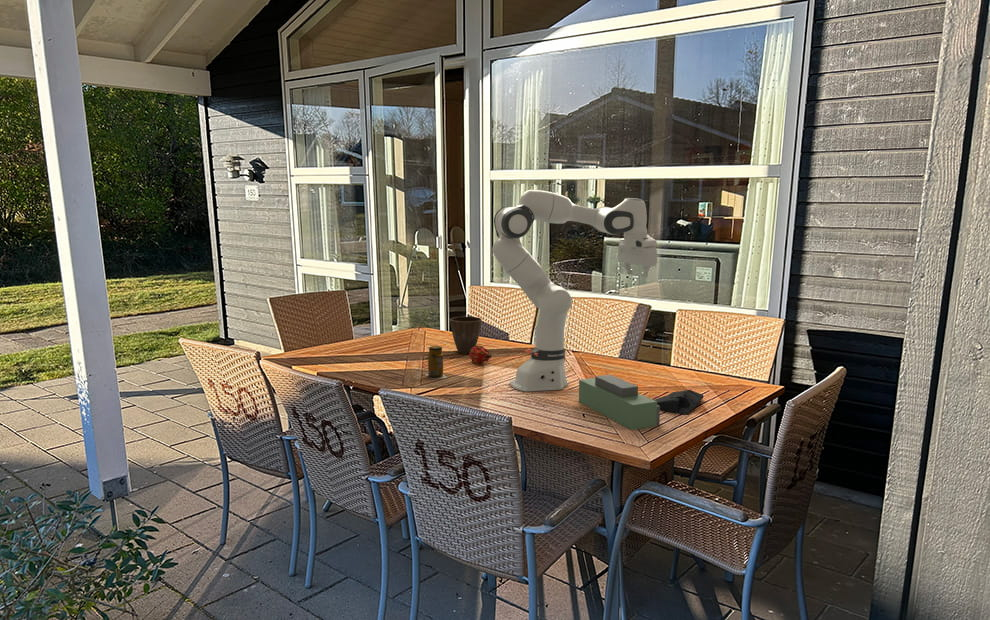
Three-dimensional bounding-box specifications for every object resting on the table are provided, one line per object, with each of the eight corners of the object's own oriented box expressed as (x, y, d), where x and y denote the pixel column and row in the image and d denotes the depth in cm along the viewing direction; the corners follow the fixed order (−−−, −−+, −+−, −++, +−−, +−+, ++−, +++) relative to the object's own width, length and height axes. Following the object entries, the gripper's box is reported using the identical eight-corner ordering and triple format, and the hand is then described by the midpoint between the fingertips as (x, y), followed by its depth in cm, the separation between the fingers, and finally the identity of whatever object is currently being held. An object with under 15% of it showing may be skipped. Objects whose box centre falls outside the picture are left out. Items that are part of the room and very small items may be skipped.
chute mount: (632, 430, 197) (633, 395, 195) (578, 401, 226) (579, 371, 224) (661, 425, 201) (662, 391, 199) (605, 398, 230) (606, 368, 228)
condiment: (441, 373, 265) (441, 344, 263) (447, 378, 257) (447, 349, 255) (424, 374, 263) (424, 346, 261) (429, 379, 255) (429, 350, 253)
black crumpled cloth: (711, 402, 227) (711, 389, 226) (685, 417, 210) (686, 403, 209) (670, 394, 237) (670, 381, 236) (642, 408, 220) (643, 395, 219)
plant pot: (463, 347, 314) (463, 315, 312) (488, 351, 306) (488, 318, 303) (443, 352, 302) (443, 319, 300) (468, 357, 294) (468, 322, 291)
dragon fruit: (471, 363, 289) (488, 372, 280) (460, 354, 283) (477, 363, 274) (482, 347, 290) (498, 355, 281) (470, 338, 284) (487, 347, 276)
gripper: (612, 239, 254) (614, 273, 257) (646, 243, 236) (647, 280, 239) (625, 237, 256) (627, 271, 260) (659, 241, 238) (660, 277, 242)
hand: (637, 275), depth 249 cm, fingers open, 8 cm apart
